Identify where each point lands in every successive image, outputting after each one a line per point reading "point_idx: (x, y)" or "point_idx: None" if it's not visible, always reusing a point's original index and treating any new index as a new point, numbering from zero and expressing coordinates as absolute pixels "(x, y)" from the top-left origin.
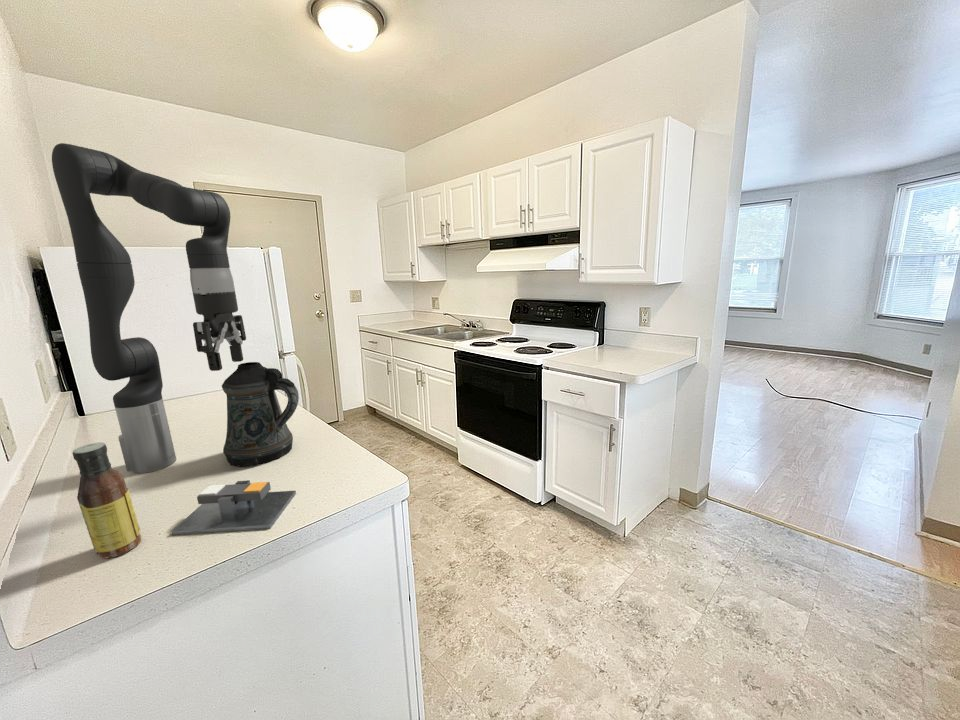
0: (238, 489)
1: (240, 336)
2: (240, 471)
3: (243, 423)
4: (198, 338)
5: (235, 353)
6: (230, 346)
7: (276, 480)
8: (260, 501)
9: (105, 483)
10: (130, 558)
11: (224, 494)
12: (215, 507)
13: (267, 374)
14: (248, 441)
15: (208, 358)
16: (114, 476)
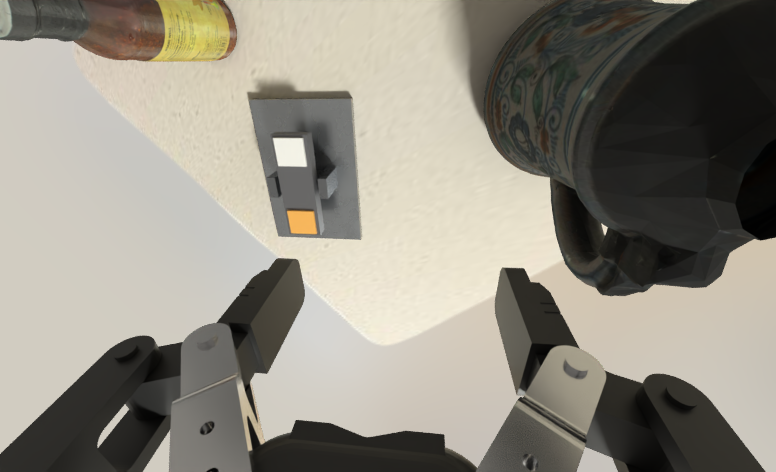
0: (296, 196)
1: (636, 462)
2: (464, 91)
3: (525, 113)
4: (33, 458)
5: (509, 322)
6: (528, 345)
7: (409, 189)
8: (331, 200)
9: (84, 48)
10: (198, 71)
11: (280, 181)
12: (314, 133)
13: (663, 250)
14: (503, 115)
15: (228, 315)
16: (99, 52)
